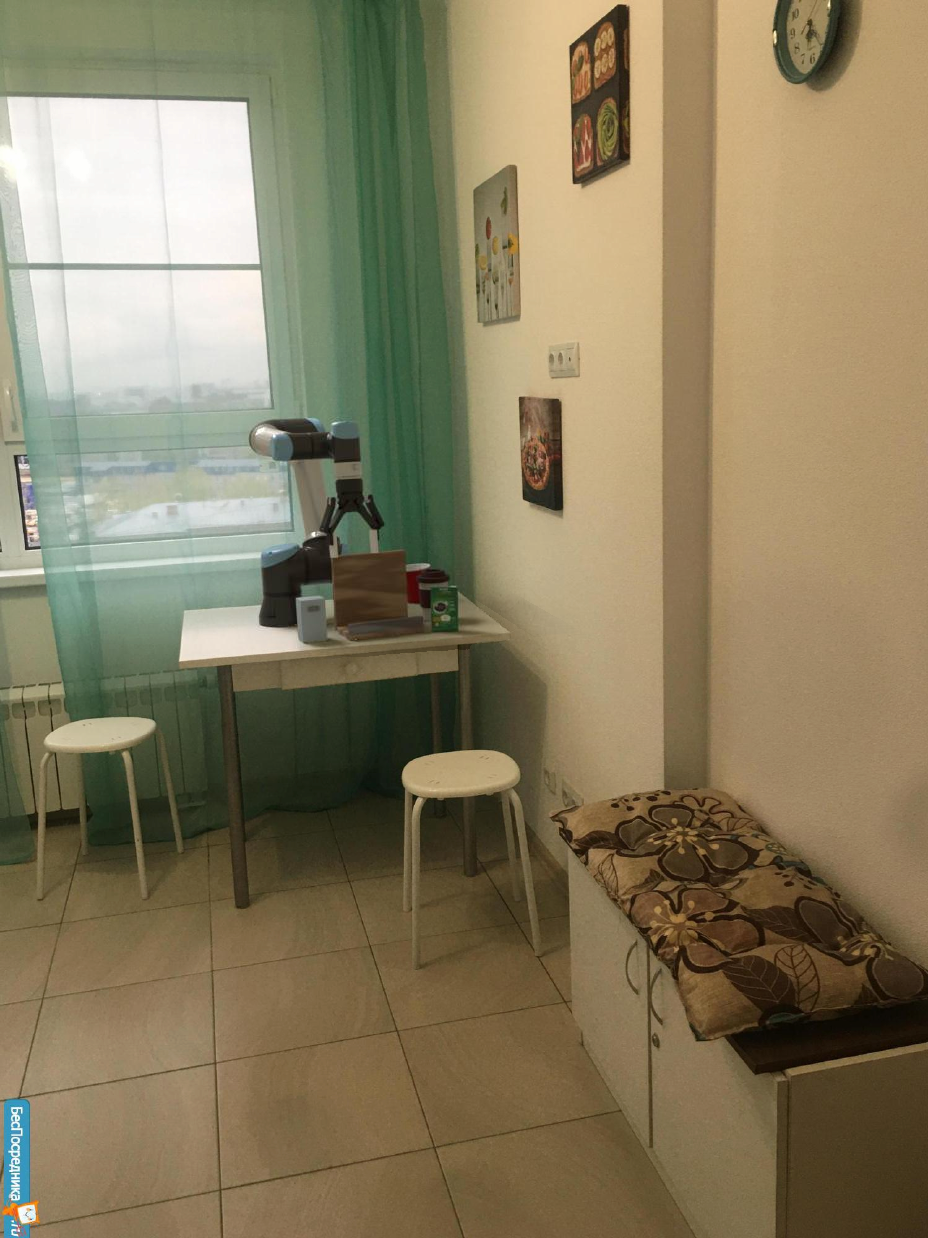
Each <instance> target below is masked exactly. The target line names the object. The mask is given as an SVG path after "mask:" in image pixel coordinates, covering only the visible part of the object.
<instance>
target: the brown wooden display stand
mask: <svg viewBox="0 0 928 1238" xmlns="http://www.w3.org/2000/svg"><path fill="white" fill-rule="evenodd" d="M378 552H379V553H371V551H370V552H360V553H349V554H348V555H338V557H337V558H331V566H332V596H333V597H332V598H333V599H332V600H333V615H334V617H333V618H334V631H335V632H336V631H337V632H336V633H338V634H339V635H341V636H342V637H344V638H345V637H346V638H345V639H347V640H349V641H351V640H353V641H356V640H355V639H361V640H367V639H366V638H369V639H374V638H373V637H378V638H382V637H381V636H386V637H392V635H394V636H398V635H397V634H403V635H408V634H409V633H411V634H417V633H416V632H419V633H424V632H425V624H424V619H423V616H422V615H416V616H409V606H408V602H407V579H406V565H407V561H406V559H407V558H406V550H405V549H394V550H384V551H383V550H382V551H378Z"/></svg>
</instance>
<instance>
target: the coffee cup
mask: <svg viewBox="0 0 928 1238" xmlns="http://www.w3.org/2000/svg"><path fill="white" fill-rule="evenodd" d="M450 580H451V579H450V574H448V573H446V572H445V570H444V569H440V568H429V569H427V570H423V571H422V572H421V574H420V575H418V576H417V582H419V597H420V603H419V605H420V608H421V616H423V619H424V621H425V622H429V621H430V623H431V586H449V585H448V582H450Z"/></svg>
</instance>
